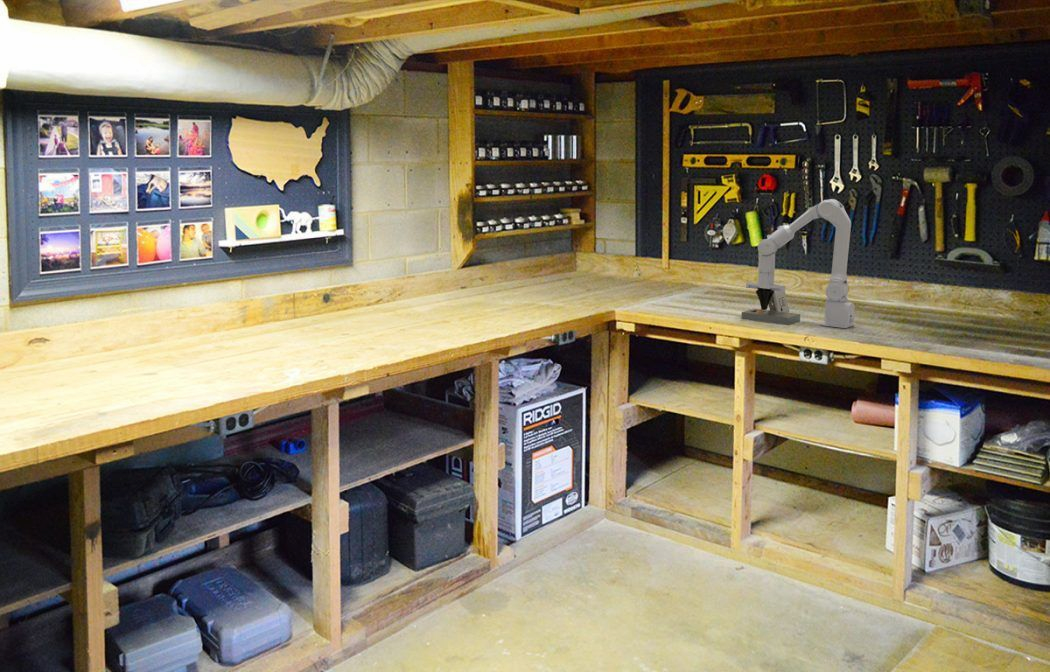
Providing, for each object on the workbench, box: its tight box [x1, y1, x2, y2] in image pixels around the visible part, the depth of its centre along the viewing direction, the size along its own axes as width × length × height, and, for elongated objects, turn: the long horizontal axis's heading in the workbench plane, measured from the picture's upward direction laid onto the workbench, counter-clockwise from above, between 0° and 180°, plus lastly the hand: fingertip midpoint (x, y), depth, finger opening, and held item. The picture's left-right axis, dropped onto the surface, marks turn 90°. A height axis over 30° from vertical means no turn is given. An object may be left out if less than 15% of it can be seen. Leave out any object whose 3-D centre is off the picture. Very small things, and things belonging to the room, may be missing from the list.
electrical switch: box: [768, 290, 790, 313], centre depth 357 cm, size 9×5×9 cm, turn 141°
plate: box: [740, 308, 801, 326], centre depth 344 cm, size 18×10×2 cm, turn 50°
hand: (764, 309), depth 346 cm, fingers closed
